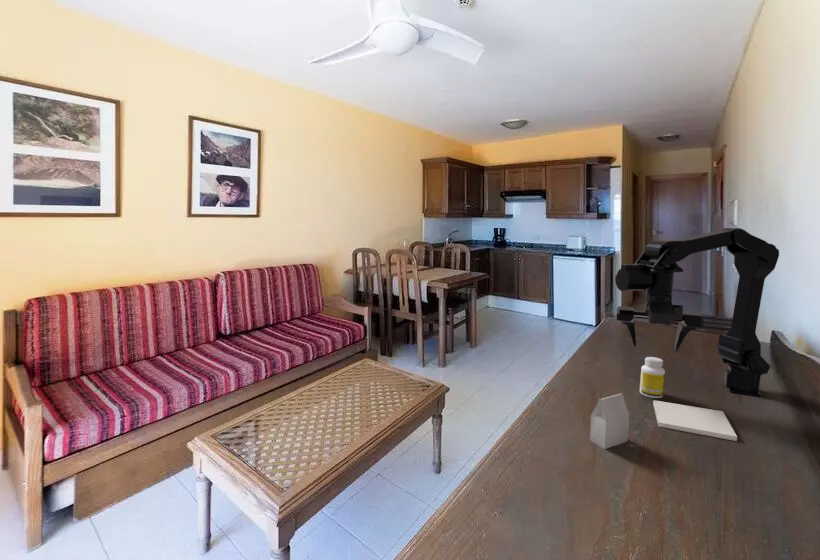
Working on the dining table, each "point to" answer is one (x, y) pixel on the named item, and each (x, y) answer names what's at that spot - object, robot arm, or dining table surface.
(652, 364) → the supplement bottle
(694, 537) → the dining table surface
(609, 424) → the milk carton
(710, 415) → the ceramic tile
